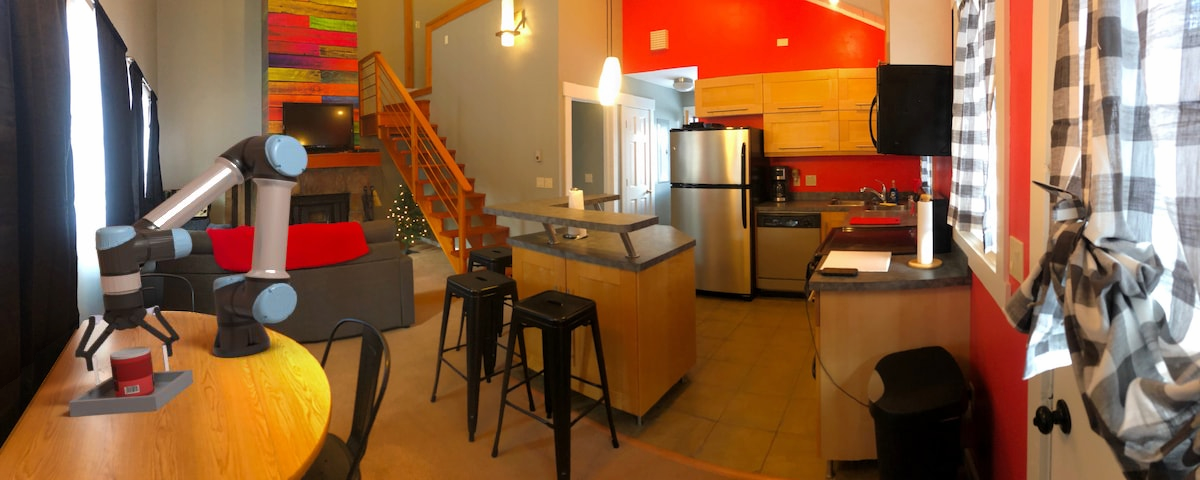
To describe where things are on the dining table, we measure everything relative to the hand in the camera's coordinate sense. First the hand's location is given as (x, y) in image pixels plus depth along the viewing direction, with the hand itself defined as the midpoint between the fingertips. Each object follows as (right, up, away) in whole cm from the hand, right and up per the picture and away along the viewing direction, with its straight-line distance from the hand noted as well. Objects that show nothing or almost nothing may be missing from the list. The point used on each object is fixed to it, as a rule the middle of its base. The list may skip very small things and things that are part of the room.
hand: (133, 376), depth 153 cm
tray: (0, -6, +1) cm, 6 cm away
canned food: (0, -5, +1) cm, 5 cm away
